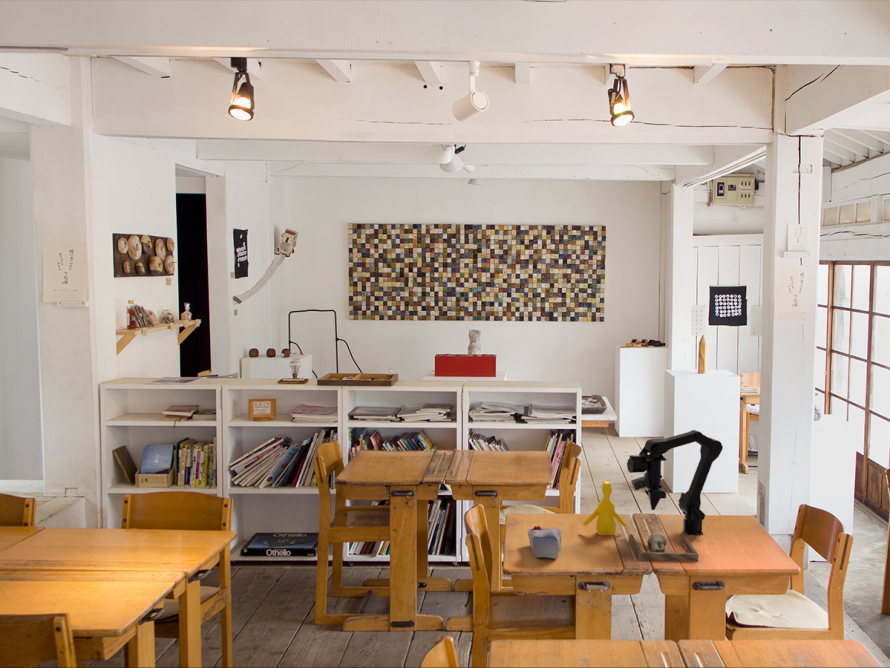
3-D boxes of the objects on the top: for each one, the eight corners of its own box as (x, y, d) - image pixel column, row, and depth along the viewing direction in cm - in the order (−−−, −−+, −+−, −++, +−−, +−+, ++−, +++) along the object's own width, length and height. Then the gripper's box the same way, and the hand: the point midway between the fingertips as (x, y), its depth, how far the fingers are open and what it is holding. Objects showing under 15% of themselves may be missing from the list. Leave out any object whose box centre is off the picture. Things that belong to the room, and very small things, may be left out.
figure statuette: (625, 531, 306) (626, 478, 305) (629, 537, 298) (630, 483, 297) (581, 530, 307) (582, 478, 305) (584, 537, 299) (585, 483, 298)
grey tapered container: (530, 532, 273) (527, 516, 293) (530, 561, 274) (527, 543, 293) (566, 532, 272) (560, 516, 292) (566, 561, 273) (560, 543, 293)
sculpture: (670, 560, 277) (665, 543, 291) (670, 547, 276) (664, 531, 291) (651, 560, 278) (646, 543, 292) (650, 548, 277) (645, 531, 292)
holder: (684, 541, 294) (684, 535, 293) (698, 561, 273) (698, 554, 273) (629, 540, 295) (629, 534, 295) (638, 559, 275) (638, 553, 274)
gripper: (629, 465, 310) (628, 502, 311) (637, 477, 291) (637, 516, 292) (656, 466, 309) (655, 503, 310) (666, 477, 291) (666, 517, 292)
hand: (652, 509), depth 301 cm, fingers closed
